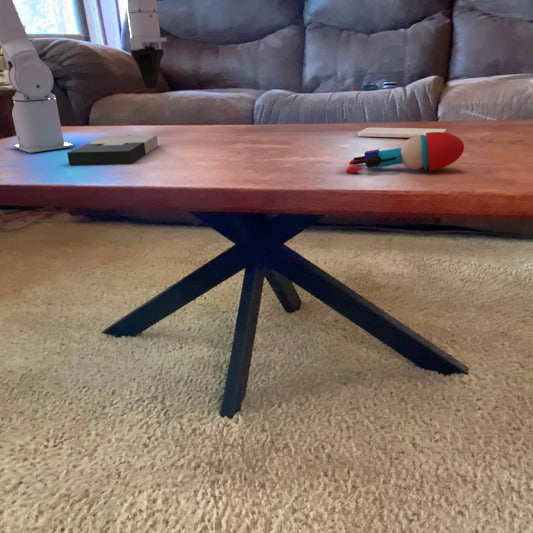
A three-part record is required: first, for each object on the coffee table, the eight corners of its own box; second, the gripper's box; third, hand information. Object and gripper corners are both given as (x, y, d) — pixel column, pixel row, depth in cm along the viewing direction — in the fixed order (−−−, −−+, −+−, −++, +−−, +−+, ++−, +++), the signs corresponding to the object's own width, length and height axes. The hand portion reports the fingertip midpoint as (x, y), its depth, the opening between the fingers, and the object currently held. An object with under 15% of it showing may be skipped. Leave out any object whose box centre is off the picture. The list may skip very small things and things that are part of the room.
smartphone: (368, 127, 101) (447, 128, 94) (367, 131, 101) (446, 133, 95) (356, 132, 95) (440, 134, 88) (356, 136, 95) (439, 139, 89)
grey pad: (105, 147, 95) (103, 136, 94) (158, 145, 94) (156, 134, 94) (84, 157, 86) (82, 145, 85) (142, 156, 85) (141, 144, 84)
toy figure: (347, 186, 68) (467, 169, 63) (341, 148, 66) (464, 128, 62) (353, 177, 74) (462, 161, 70) (349, 143, 73) (460, 125, 68)
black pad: (88, 155, 88) (86, 143, 87) (145, 154, 87) (144, 142, 86) (69, 165, 80) (66, 152, 80) (131, 163, 80) (129, 150, 79)
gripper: (153, 9, 91) (162, 89, 96) (172, 14, 104) (178, 85, 110) (114, 11, 92) (125, 91, 97) (138, 16, 105) (146, 86, 110)
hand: (151, 88), depth 103 cm, fingers closed
